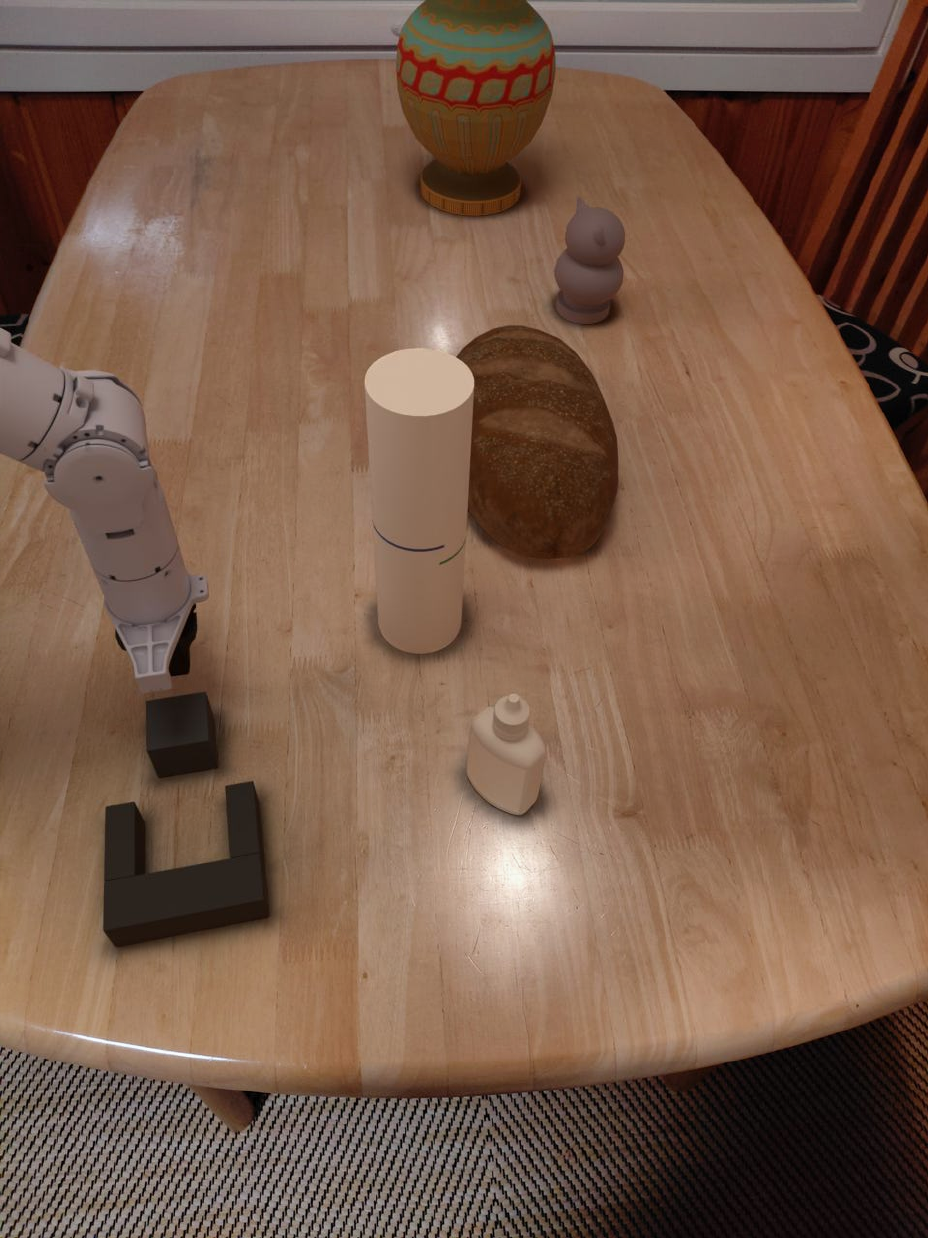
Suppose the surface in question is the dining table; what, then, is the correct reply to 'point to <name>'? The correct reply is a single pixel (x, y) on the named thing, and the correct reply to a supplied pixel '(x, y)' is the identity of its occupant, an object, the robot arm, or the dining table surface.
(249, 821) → the black u-shaped block
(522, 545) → the bread
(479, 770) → the eye dropper bottle
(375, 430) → the cylindrical container
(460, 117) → the vase
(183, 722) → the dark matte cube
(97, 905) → the dining table surface
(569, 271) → the grey rounded figurine
